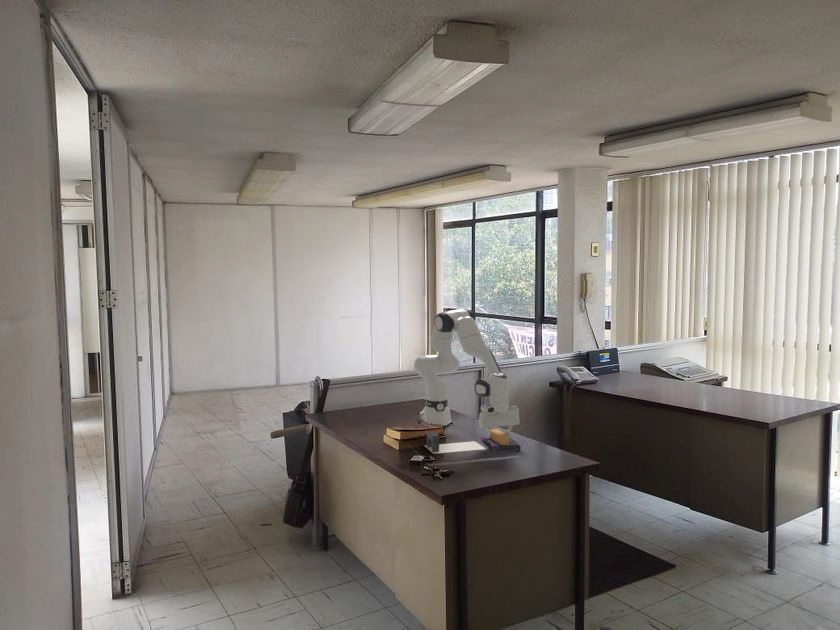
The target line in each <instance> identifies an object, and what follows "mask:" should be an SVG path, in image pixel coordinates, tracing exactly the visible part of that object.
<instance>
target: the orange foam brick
mask: <svg viewBox="0 0 840 630" xmlns="http://www.w3.org/2000/svg"><path fill="white" fill-rule="evenodd" d="M489 430H490V432H492V436H489V437H490V438H491V439H493V440H494V441H496V442H497V443H499V444H500V445H509V437H510V436H509V435H507V434H506V433H504V432H503V431H501V430H500V429H498V428H495V429H489Z"/></svg>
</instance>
